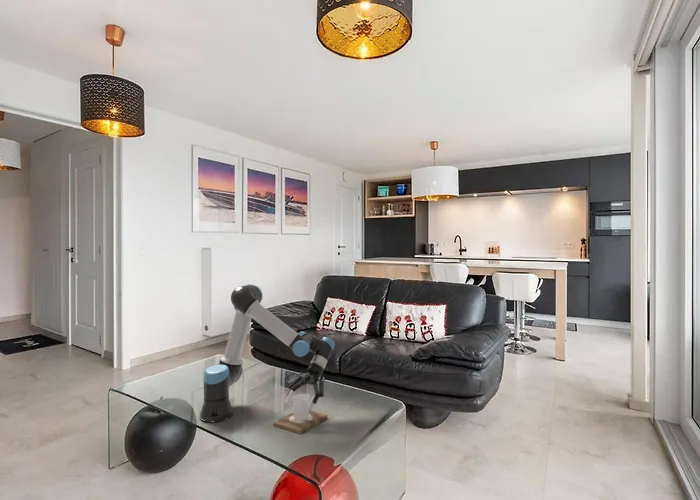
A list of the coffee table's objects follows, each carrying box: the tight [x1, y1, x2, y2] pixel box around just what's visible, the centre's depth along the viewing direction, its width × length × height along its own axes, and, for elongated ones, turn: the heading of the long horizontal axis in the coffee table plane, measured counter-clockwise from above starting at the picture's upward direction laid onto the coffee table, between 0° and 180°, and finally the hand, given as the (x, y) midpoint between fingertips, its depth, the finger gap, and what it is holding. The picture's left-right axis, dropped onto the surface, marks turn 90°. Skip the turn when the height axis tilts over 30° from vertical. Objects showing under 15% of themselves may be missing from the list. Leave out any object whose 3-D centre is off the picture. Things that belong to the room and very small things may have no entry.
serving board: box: [272, 410, 328, 435], centre depth 178 cm, size 20×16×2 cm
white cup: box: [292, 393, 311, 421], centre depth 179 cm, size 8×8×10 cm
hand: (297, 406), depth 177 cm, fingers open, 13 cm apart
